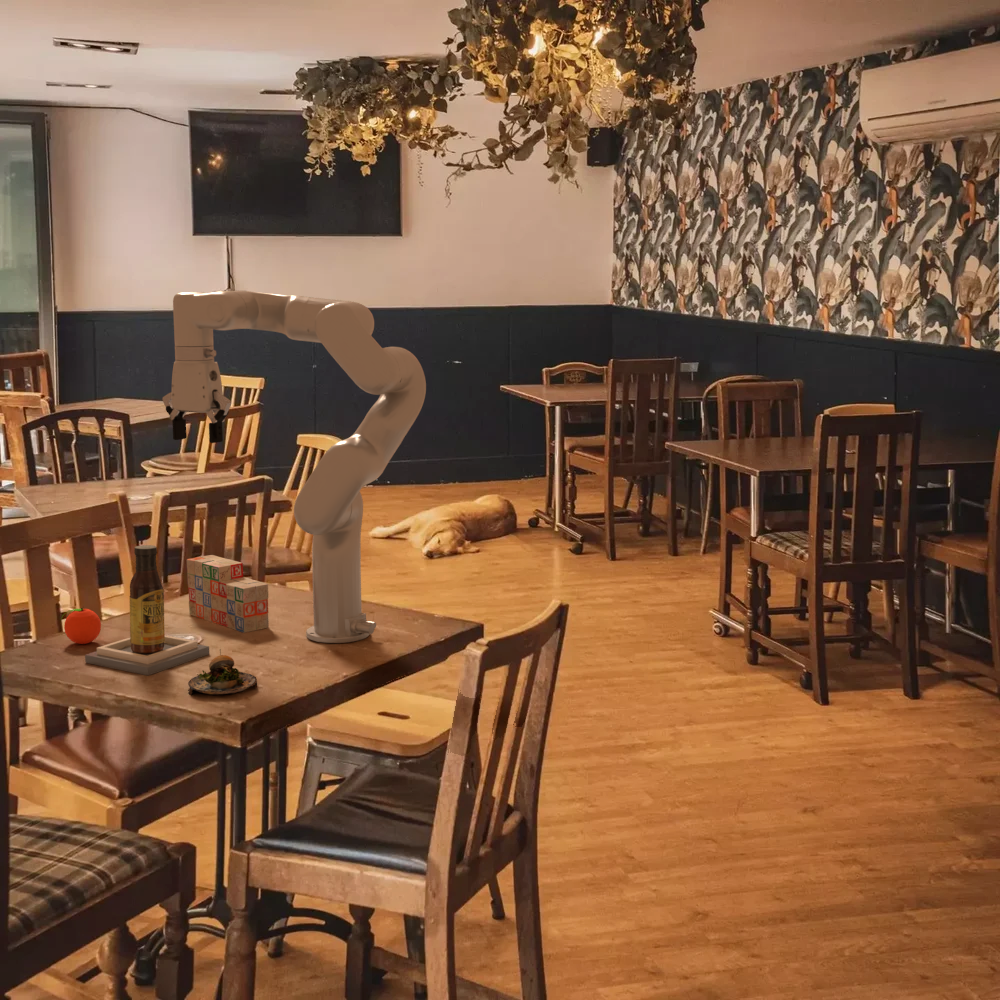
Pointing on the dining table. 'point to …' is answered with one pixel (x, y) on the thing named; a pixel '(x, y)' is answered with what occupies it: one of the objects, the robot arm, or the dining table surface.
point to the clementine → (82, 626)
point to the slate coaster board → (147, 655)
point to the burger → (222, 678)
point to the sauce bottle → (146, 603)
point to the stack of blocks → (226, 594)
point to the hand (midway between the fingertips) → (197, 440)
